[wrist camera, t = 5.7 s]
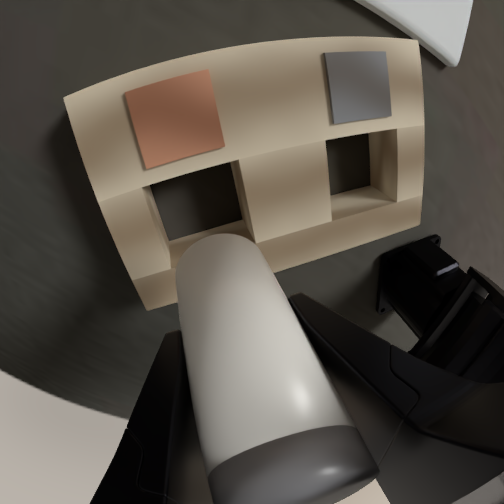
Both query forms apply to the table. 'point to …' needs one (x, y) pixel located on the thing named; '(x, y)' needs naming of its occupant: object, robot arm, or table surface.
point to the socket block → (257, 147)
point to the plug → (261, 385)
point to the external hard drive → (428, 23)
